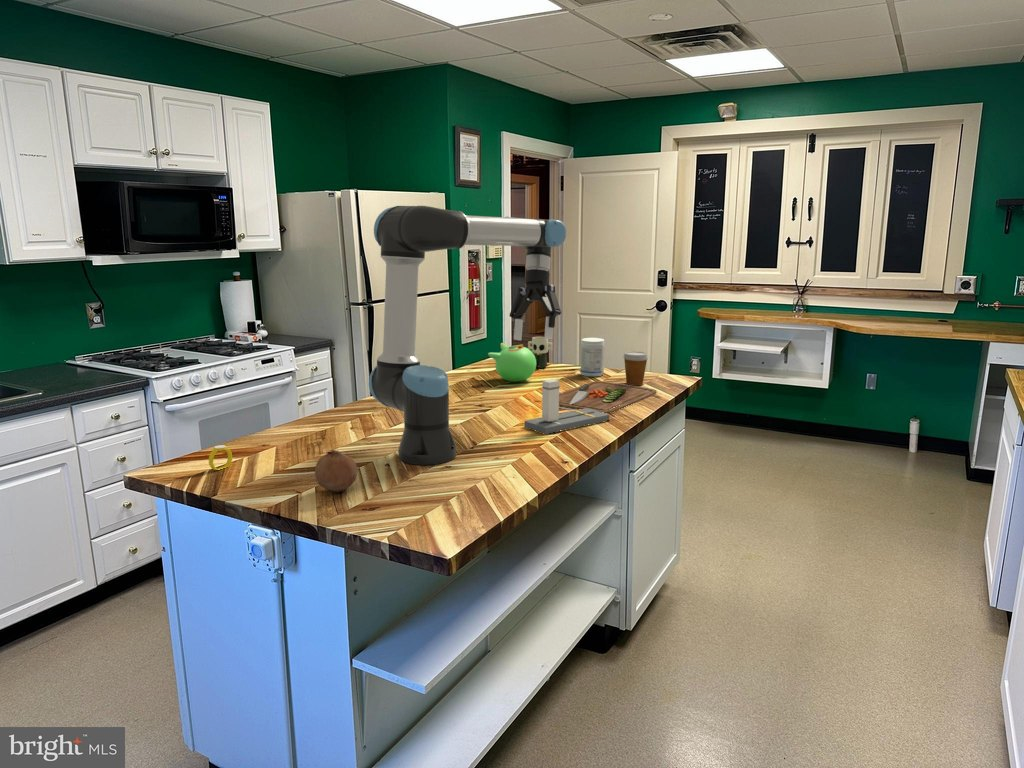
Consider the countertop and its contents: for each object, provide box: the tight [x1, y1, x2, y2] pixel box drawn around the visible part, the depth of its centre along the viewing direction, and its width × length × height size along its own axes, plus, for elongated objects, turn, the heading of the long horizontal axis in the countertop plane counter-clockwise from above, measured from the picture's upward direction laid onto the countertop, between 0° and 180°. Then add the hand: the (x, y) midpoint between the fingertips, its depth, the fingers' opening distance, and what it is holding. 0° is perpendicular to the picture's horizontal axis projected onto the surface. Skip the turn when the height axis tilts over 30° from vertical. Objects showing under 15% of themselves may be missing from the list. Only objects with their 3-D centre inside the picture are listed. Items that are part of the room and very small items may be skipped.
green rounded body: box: [487, 342, 537, 383], centre depth 279 cm, size 18×17×15 cm
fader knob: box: [541, 378, 560, 422], centre depth 214 cm, size 4×3×12 cm
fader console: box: [523, 408, 610, 435], centre depth 220 cm, size 26×10×2 cm, turn 127°
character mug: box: [527, 336, 554, 369], centre depth 305 cm, size 11×7×13 cm, turn 71°
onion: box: [314, 449, 359, 493], centre depth 162 cm, size 10×9×10 cm
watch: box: [208, 444, 233, 471], centre depth 177 cm, size 6×3×6 cm, turn 150°
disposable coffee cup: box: [622, 350, 649, 386], centre depth 275 cm, size 10×10×12 cm
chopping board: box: [559, 380, 658, 414], centre depth 254 cm, size 45×27×3 cm, turn 145°
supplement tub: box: [580, 337, 605, 378], centre depth 291 cm, size 10×10×15 cm
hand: (532, 339), depth 219 cm, fingers open, 13 cm apart
